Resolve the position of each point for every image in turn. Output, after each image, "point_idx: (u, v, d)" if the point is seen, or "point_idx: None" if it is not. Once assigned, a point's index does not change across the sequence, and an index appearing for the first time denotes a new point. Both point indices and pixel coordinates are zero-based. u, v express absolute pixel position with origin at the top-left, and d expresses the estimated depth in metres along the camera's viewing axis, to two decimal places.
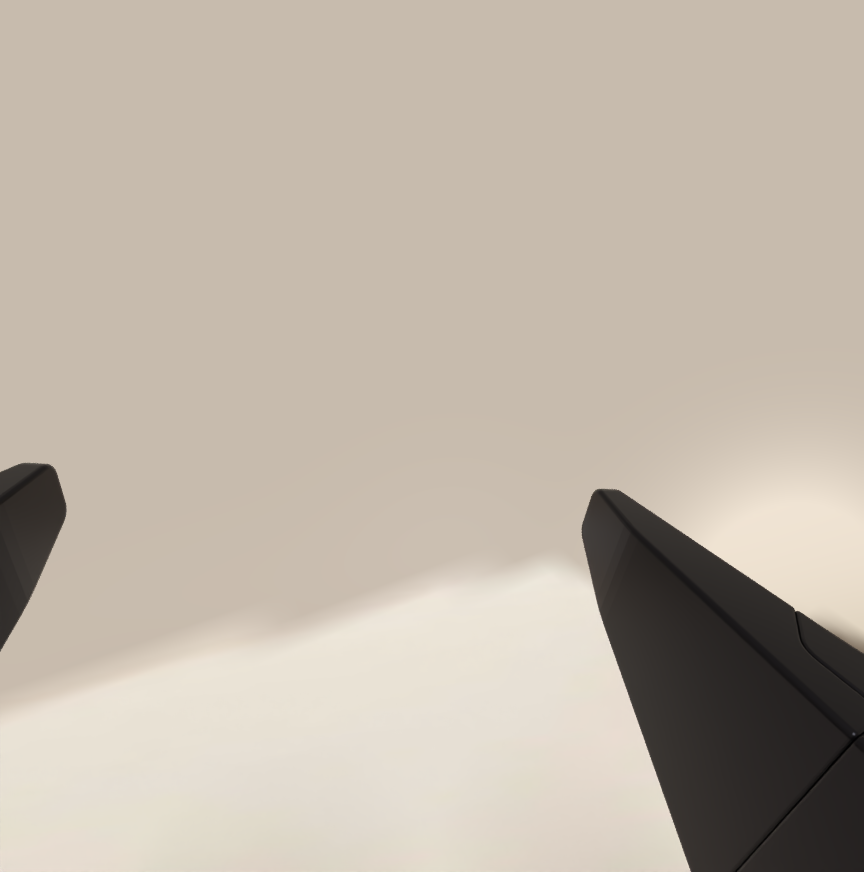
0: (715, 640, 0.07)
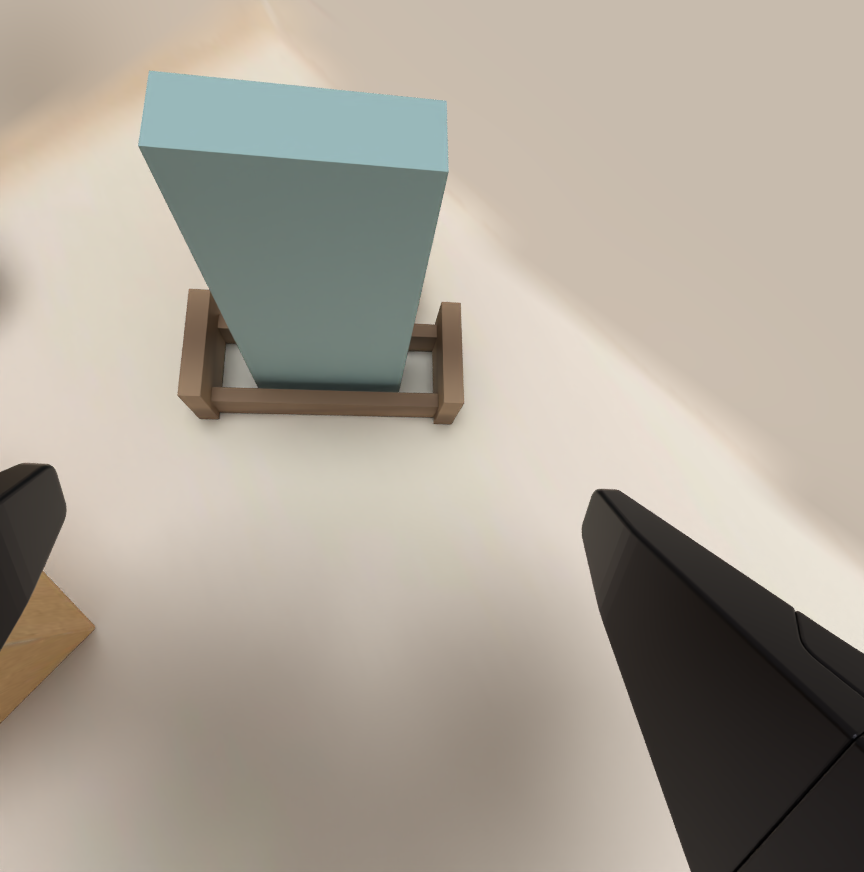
0: (715, 640, 0.07)
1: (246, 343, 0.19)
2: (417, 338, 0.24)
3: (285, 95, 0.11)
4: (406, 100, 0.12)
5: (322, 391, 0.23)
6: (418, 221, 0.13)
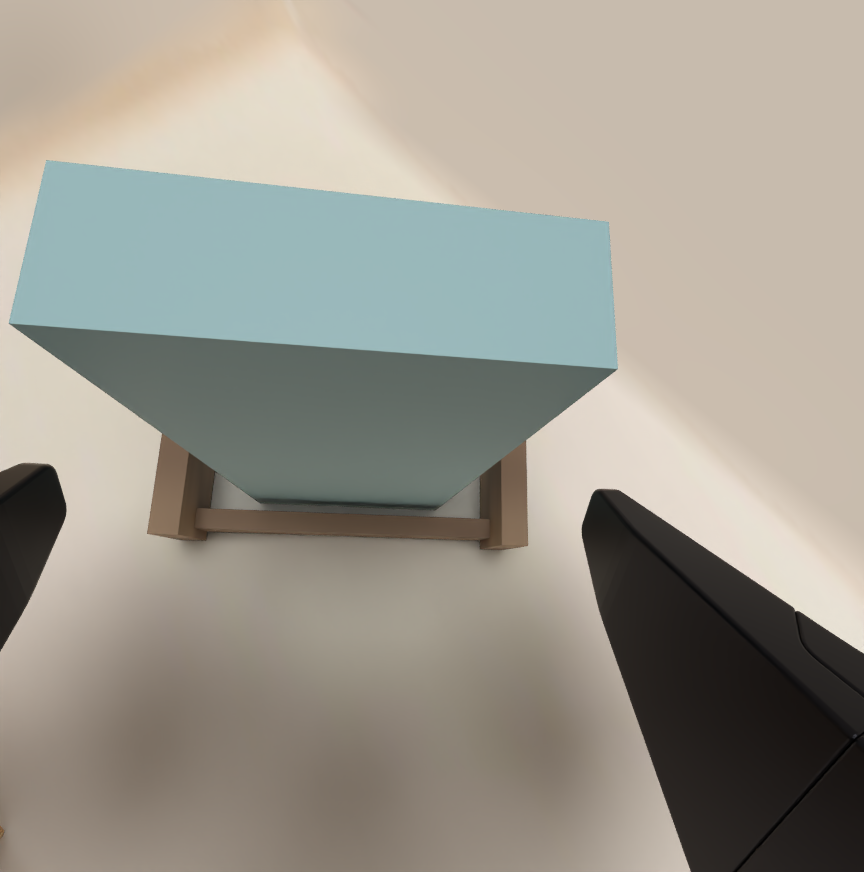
0: (715, 640, 0.07)
1: (241, 479, 0.14)
2: None
3: (311, 212, 0.06)
4: (536, 222, 0.06)
5: (340, 516, 0.17)
6: (529, 410, 0.07)
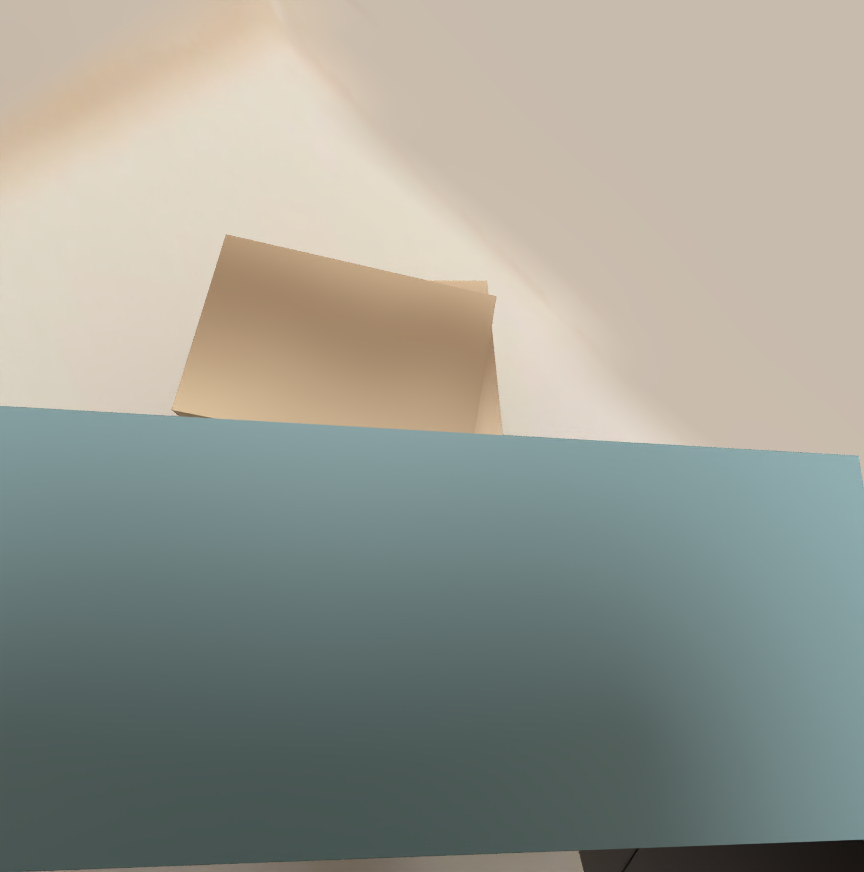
0: None
1: None
2: None
3: (209, 477, 0.02)
4: (712, 466, 0.03)
5: None
6: None
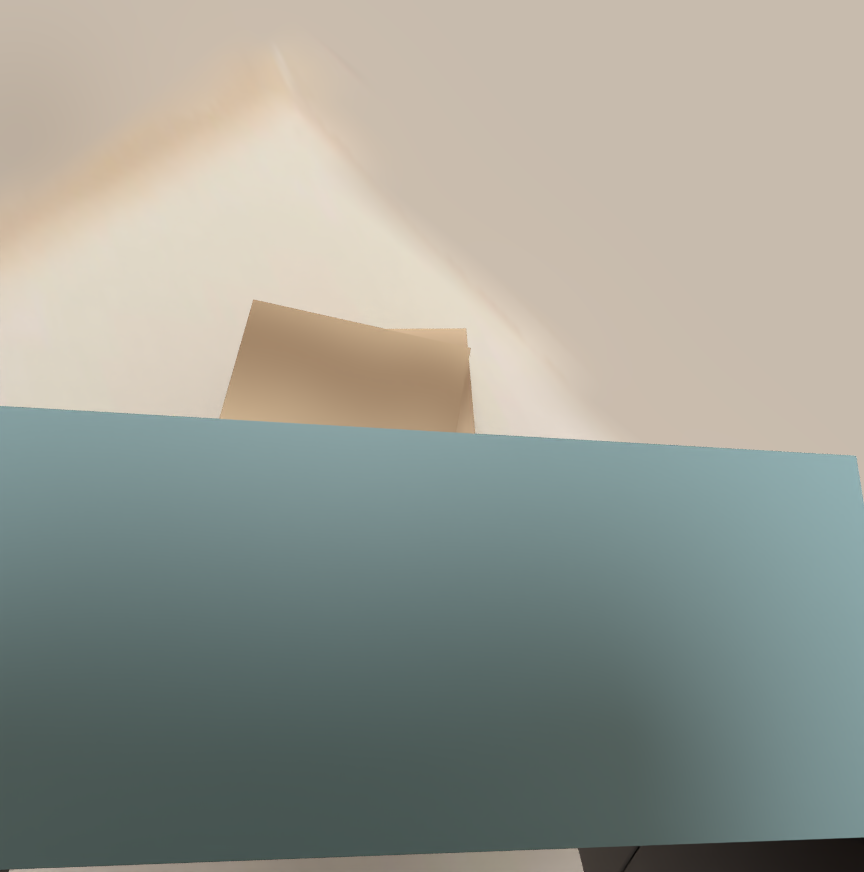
0: None
1: None
2: None
3: (210, 475, 0.03)
4: (708, 466, 0.03)
5: None
6: None
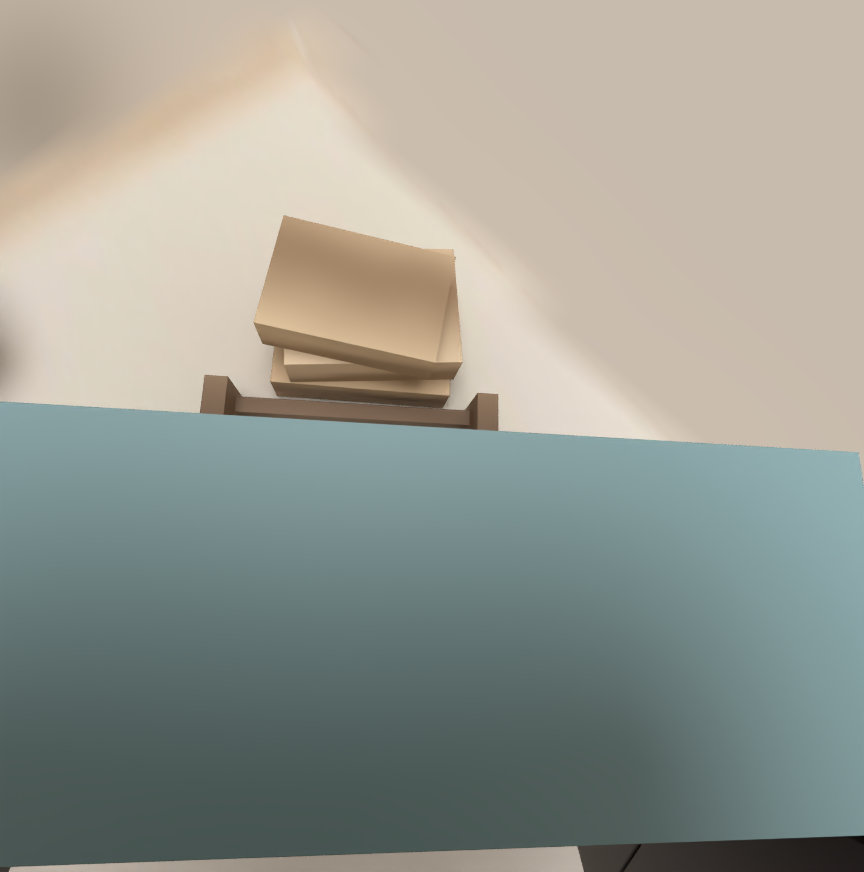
0: None
1: None
2: (448, 424, 0.22)
3: (208, 471, 0.02)
4: (710, 463, 0.03)
5: None
6: None
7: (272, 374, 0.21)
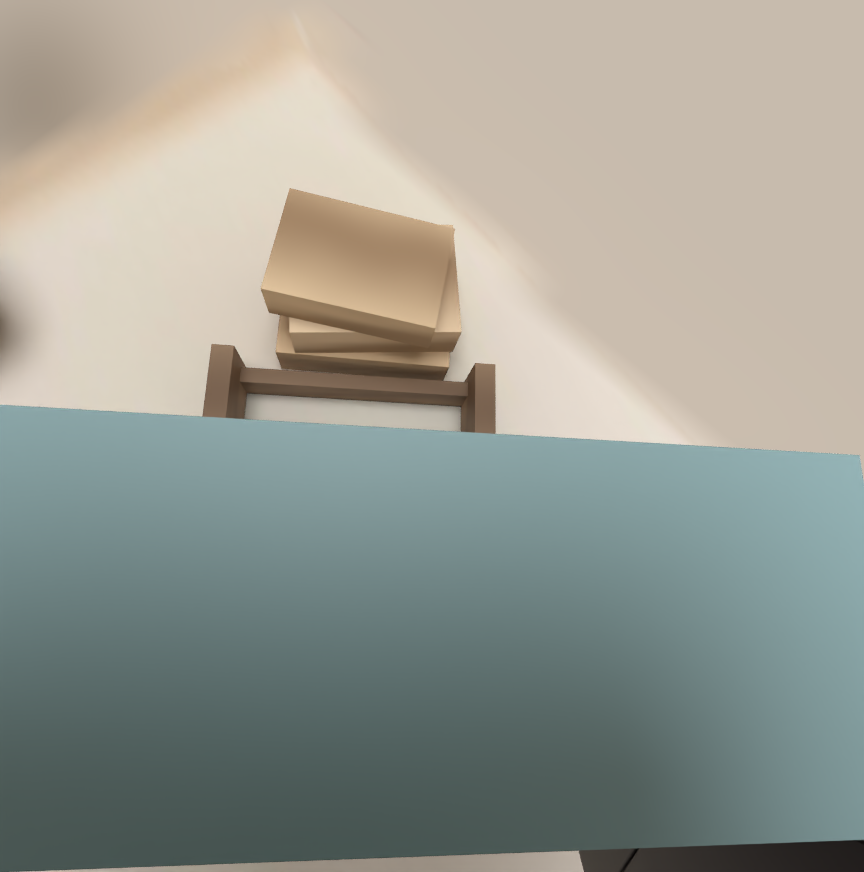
0: None
1: None
2: (447, 396, 0.23)
3: (206, 475, 0.02)
4: (713, 467, 0.03)
5: None
6: None
7: (277, 345, 0.22)
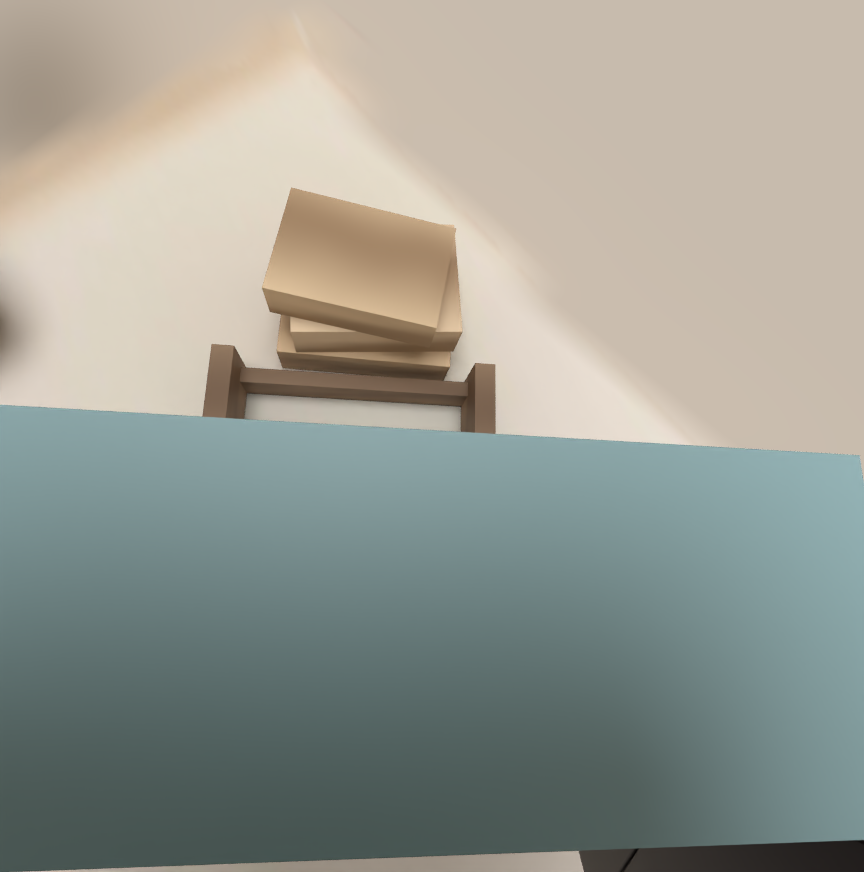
0: None
1: None
2: (447, 396, 0.23)
3: (206, 475, 0.02)
4: (713, 467, 0.03)
5: None
6: None
7: (278, 344, 0.22)
